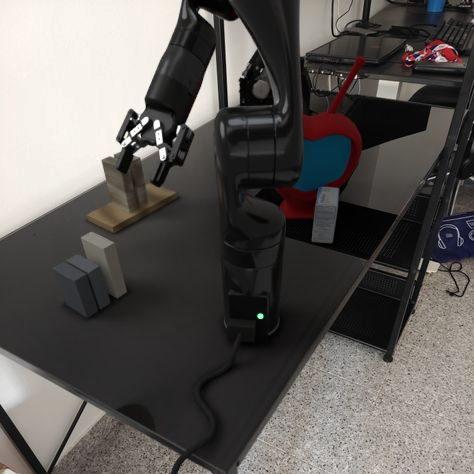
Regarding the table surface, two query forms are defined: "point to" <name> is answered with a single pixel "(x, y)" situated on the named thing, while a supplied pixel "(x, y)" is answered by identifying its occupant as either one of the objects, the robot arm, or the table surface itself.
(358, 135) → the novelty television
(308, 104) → the typewriter
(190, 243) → the table surface
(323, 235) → the medicine box
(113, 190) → the rack
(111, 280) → the cream book
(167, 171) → the robot arm
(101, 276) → the grey books
